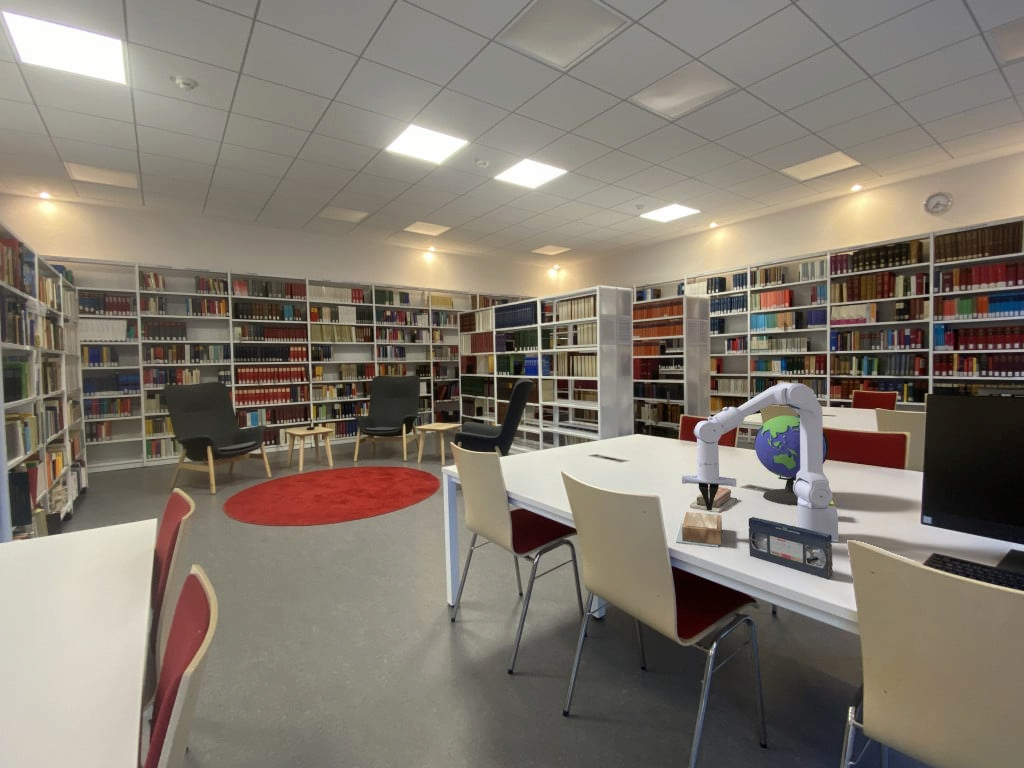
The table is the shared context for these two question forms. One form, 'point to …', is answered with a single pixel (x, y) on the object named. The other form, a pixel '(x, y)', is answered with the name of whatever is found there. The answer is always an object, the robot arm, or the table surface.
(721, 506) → the packaged product
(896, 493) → the table surface
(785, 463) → the globe
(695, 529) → the tan wooden block
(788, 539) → the vhs cassette tape
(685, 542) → the mat
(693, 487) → the table surface
